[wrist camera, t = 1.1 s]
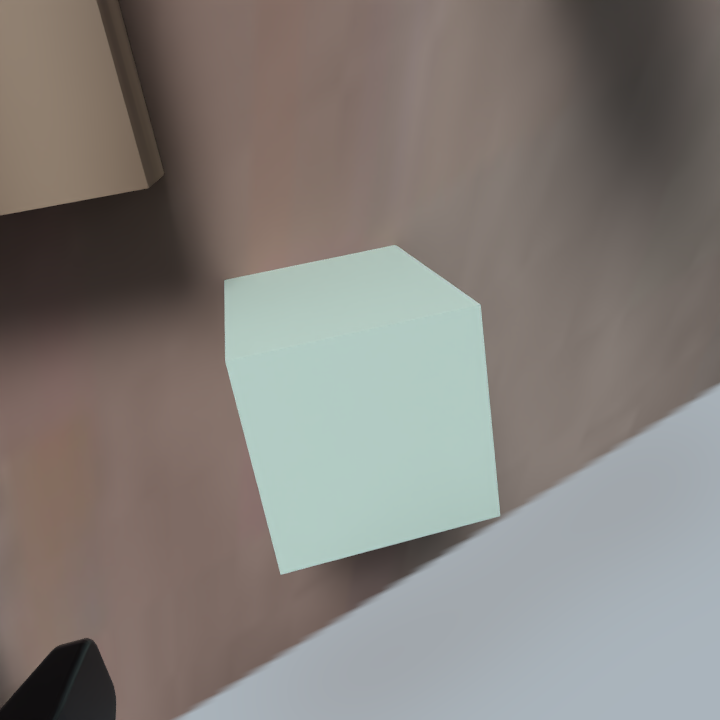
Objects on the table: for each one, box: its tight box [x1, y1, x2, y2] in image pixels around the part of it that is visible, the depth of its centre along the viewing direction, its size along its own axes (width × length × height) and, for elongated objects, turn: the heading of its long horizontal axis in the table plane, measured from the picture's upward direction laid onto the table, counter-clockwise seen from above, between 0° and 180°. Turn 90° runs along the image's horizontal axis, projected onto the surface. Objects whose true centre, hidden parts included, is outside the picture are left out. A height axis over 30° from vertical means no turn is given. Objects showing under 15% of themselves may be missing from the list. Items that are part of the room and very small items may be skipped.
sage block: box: [224, 245, 500, 574], centre depth 15 cm, size 4×4×6 cm
